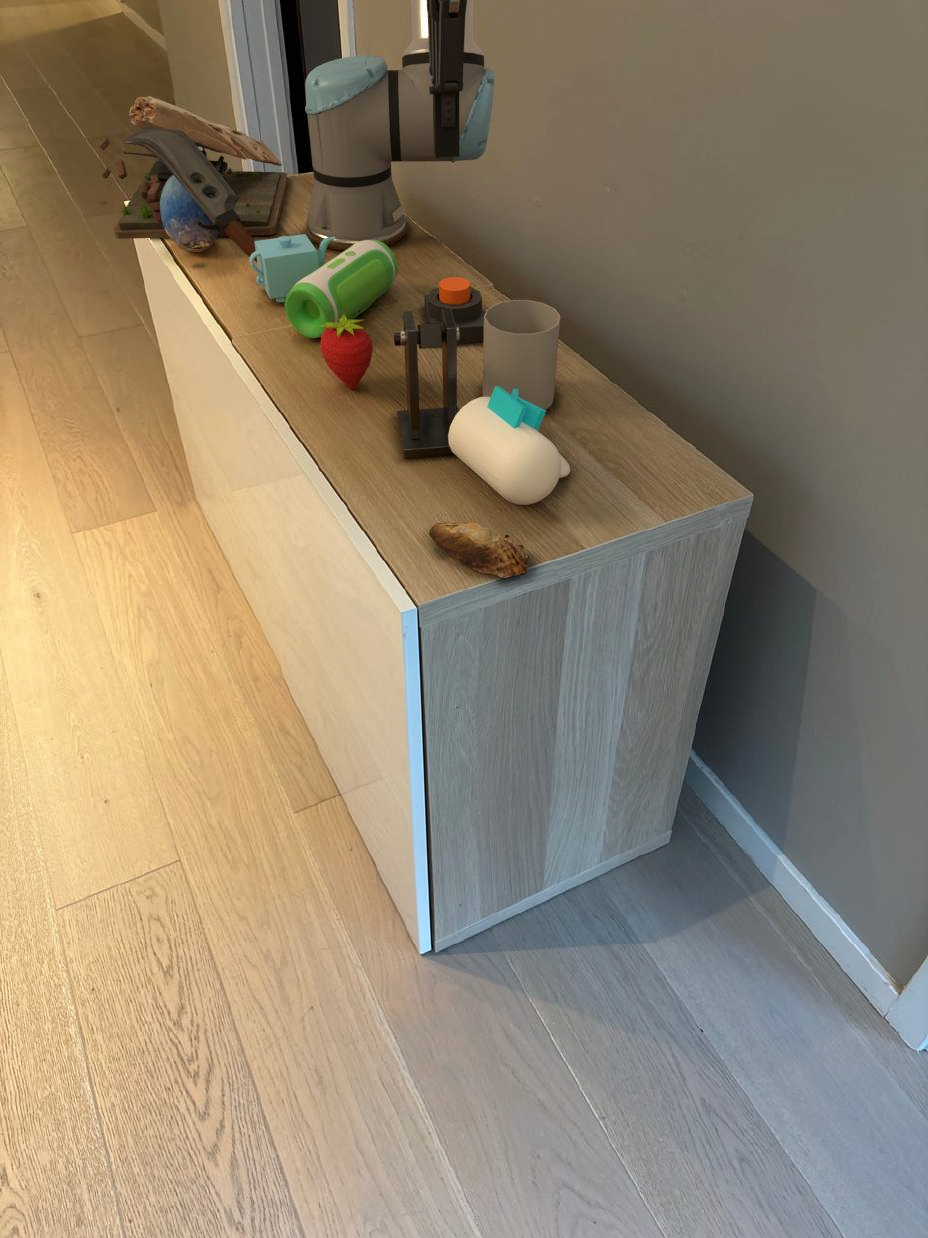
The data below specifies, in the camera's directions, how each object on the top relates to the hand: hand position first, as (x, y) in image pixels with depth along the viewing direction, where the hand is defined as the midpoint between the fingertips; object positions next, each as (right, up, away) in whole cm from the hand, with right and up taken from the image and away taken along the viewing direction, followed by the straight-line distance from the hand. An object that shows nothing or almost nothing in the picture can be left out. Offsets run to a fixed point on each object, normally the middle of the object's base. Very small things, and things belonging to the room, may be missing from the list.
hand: (446, 154), depth 105 cm
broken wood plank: (-38, +23, +46) cm, 64 cm away
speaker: (-14, -12, +20) cm, 27 cm away
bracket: (-2, -32, -2) cm, 32 cm away
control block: (+1, -14, +18) cm, 22 cm away
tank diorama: (-42, +15, +47) cm, 65 cm away
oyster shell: (0, -42, -14) cm, 44 cm away
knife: (-25, -5, +26) cm, 36 cm away
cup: (+8, -26, +5) cm, 28 cm away
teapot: (-21, -7, +25) cm, 33 cm away
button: (+1, -11, +15) cm, 19 cm away
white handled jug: (+8, -38, -8) cm, 39 cm away
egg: (-37, -1, +31) cm, 48 cm away
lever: (-2, -23, -4) cm, 24 cm away
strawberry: (-12, -25, +6) cm, 28 cm away
